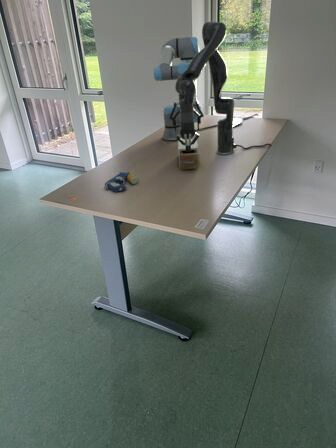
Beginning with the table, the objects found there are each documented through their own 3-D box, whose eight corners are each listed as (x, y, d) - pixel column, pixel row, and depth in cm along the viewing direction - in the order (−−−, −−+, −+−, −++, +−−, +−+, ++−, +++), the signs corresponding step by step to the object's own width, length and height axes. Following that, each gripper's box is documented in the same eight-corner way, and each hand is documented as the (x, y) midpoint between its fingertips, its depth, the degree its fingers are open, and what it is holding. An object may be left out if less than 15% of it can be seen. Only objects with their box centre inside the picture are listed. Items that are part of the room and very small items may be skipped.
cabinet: (198, 165, 198) (198, 147, 192) (179, 166, 199) (178, 149, 193) (197, 154, 214) (196, 137, 208) (179, 156, 215) (178, 139, 209)
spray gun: (144, 178, 188) (122, 175, 194) (143, 171, 185) (120, 168, 192) (124, 194, 172) (101, 191, 179) (123, 187, 170) (99, 184, 176)
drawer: (198, 172, 187) (198, 157, 182) (180, 173, 188) (179, 158, 183) (196, 158, 206) (196, 143, 202) (180, 159, 207) (179, 145, 202)
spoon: (235, 135, 247) (235, 132, 245) (221, 135, 250) (220, 132, 249) (243, 119, 273) (243, 117, 272) (230, 119, 276) (230, 117, 275)
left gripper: (163, 95, 188) (166, 133, 199) (207, 92, 186) (208, 130, 197) (163, 93, 194) (166, 129, 205) (206, 89, 193) (207, 126, 204)
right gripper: (174, 122, 172) (176, 155, 181) (199, 121, 171) (200, 153, 180) (174, 119, 178) (176, 150, 187) (199, 117, 178) (200, 148, 187)
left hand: (187, 130), depth 201 cm, fingers open, 13 cm apart
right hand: (188, 151), depth 184 cm, fingers closed
